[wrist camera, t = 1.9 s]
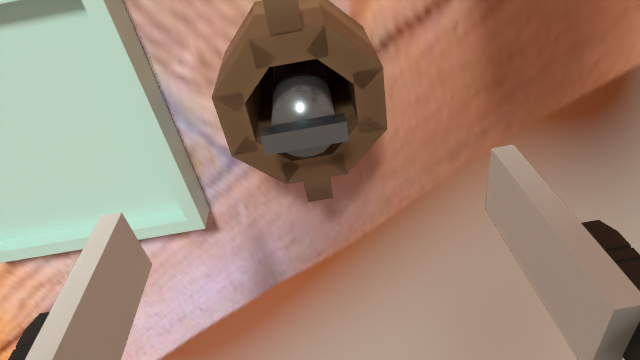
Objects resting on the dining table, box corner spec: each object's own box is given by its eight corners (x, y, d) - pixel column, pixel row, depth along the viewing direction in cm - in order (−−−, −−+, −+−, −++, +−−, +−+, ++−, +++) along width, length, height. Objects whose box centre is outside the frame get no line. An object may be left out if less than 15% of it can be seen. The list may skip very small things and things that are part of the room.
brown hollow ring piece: (203, -20, 22) (182, 12, 17) (355, -49, 22) (376, -24, 17) (255, 153, 29) (250, 211, 24) (372, 133, 28) (391, 187, 23)
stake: (261, 47, 24) (254, 116, 18) (326, 35, 24) (344, 100, 17) (273, 94, 26) (270, 173, 19) (333, 83, 26) (351, 159, 19)
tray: (-220, 16, 21) (-264, 29, 20) (102, -47, 21) (86, -38, 19) (-11, 245, 32) (-28, 267, 30) (209, 208, 31) (205, 228, 29)
